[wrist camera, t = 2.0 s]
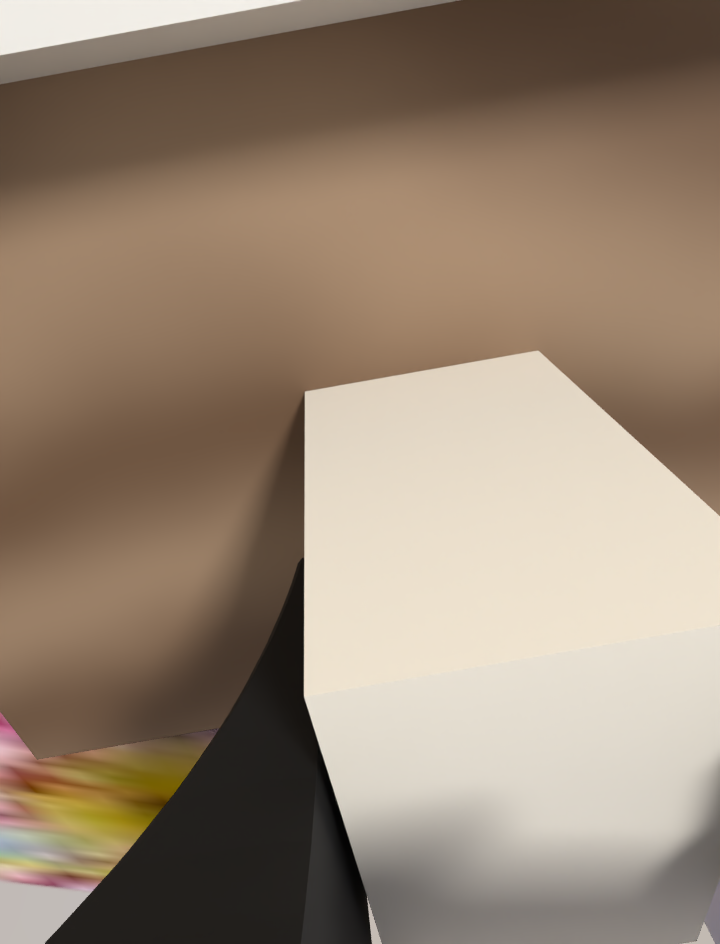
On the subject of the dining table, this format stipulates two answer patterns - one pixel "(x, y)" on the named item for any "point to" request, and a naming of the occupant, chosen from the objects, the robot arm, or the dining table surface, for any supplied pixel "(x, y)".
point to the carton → (512, 659)
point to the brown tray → (309, 291)
